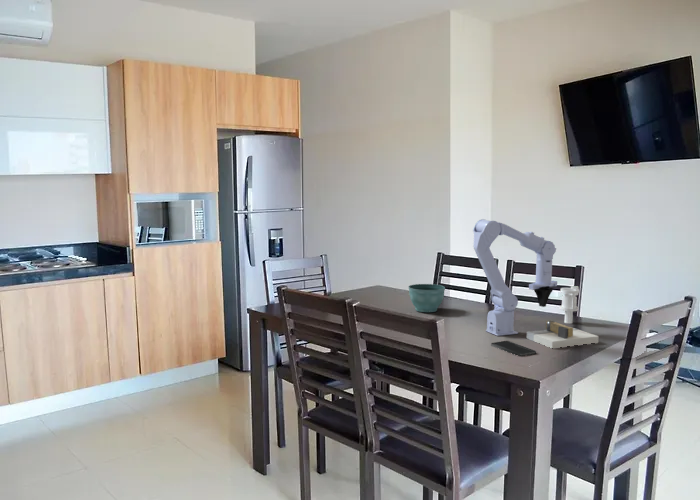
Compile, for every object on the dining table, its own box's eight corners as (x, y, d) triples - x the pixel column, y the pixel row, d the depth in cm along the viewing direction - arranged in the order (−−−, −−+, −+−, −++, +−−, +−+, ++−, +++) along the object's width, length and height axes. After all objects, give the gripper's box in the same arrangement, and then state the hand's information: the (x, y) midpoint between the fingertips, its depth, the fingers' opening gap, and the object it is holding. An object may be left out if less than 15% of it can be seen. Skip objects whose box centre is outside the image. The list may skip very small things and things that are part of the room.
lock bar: (544, 329, 212) (545, 320, 212) (551, 328, 213) (551, 320, 212) (567, 337, 201) (567, 328, 200) (573, 336, 202) (573, 328, 201)
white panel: (552, 348, 197) (552, 331, 196) (526, 338, 210) (527, 322, 209) (598, 343, 204) (599, 326, 203) (570, 333, 217) (571, 317, 216)
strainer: (581, 324, 231) (582, 287, 229) (564, 325, 230) (566, 288, 228) (571, 320, 238) (573, 284, 236) (555, 320, 237) (557, 285, 235)
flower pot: (413, 305, 266) (413, 282, 265) (448, 308, 261) (448, 284, 259) (403, 312, 252) (404, 288, 250) (440, 316, 246) (440, 291, 244)
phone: (519, 354, 188) (489, 343, 201) (519, 358, 188) (489, 346, 201) (537, 351, 191) (507, 340, 205) (537, 354, 191) (507, 343, 205)
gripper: (540, 274, 212) (538, 310, 214) (564, 271, 220) (563, 305, 222) (524, 272, 218) (523, 307, 219) (549, 268, 226) (547, 302, 227)
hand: (542, 306), depth 221 cm, fingers closed
